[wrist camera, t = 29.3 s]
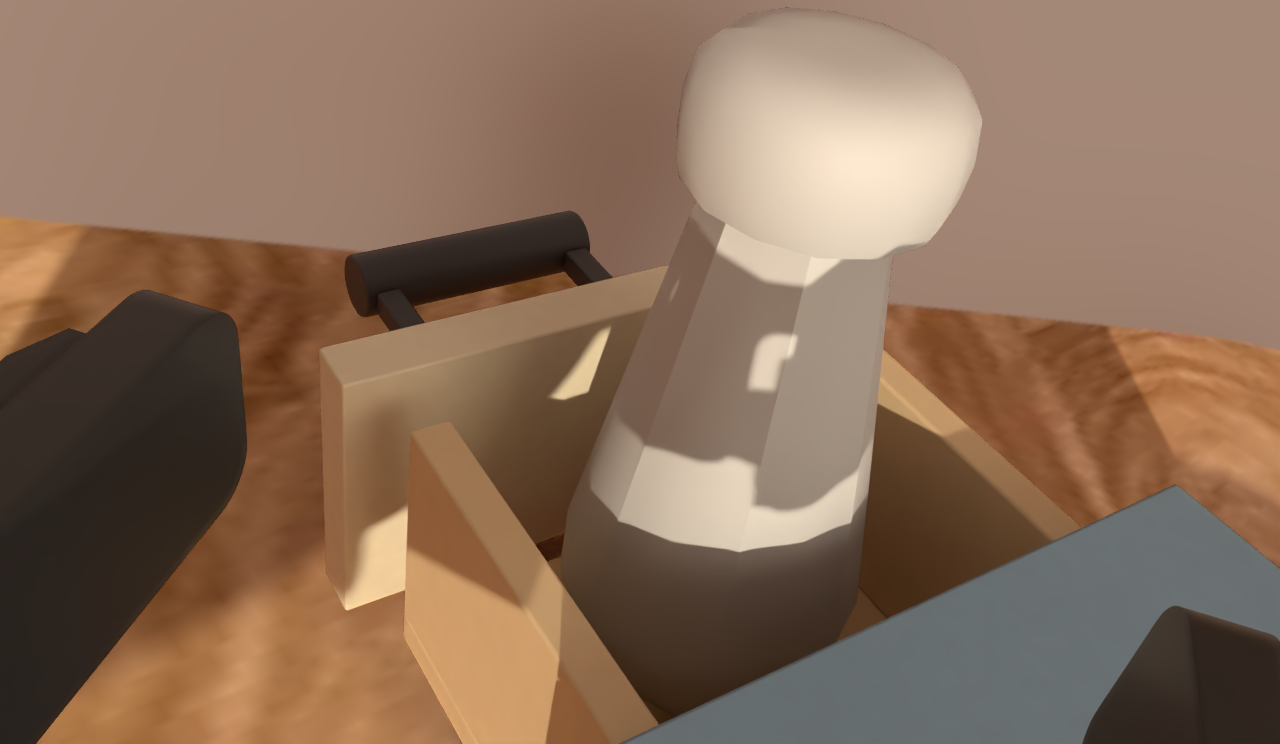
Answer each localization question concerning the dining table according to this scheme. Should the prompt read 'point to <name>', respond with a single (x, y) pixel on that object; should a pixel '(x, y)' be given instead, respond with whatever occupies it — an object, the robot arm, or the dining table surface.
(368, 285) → the drawer
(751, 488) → the salt shaker
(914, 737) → the cabinet
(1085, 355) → the dining table surface
